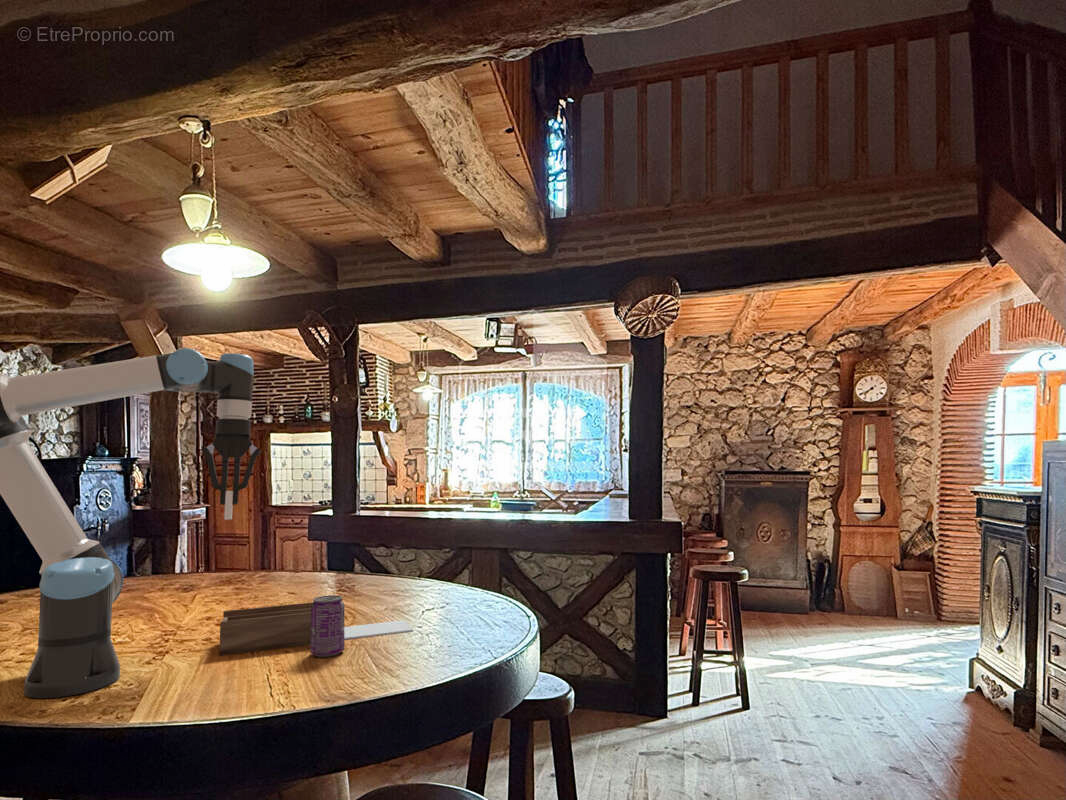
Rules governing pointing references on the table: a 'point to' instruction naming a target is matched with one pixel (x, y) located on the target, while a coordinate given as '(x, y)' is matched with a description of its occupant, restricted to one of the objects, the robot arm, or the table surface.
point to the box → (265, 628)
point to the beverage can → (327, 626)
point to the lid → (376, 629)
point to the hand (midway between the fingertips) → (228, 519)
